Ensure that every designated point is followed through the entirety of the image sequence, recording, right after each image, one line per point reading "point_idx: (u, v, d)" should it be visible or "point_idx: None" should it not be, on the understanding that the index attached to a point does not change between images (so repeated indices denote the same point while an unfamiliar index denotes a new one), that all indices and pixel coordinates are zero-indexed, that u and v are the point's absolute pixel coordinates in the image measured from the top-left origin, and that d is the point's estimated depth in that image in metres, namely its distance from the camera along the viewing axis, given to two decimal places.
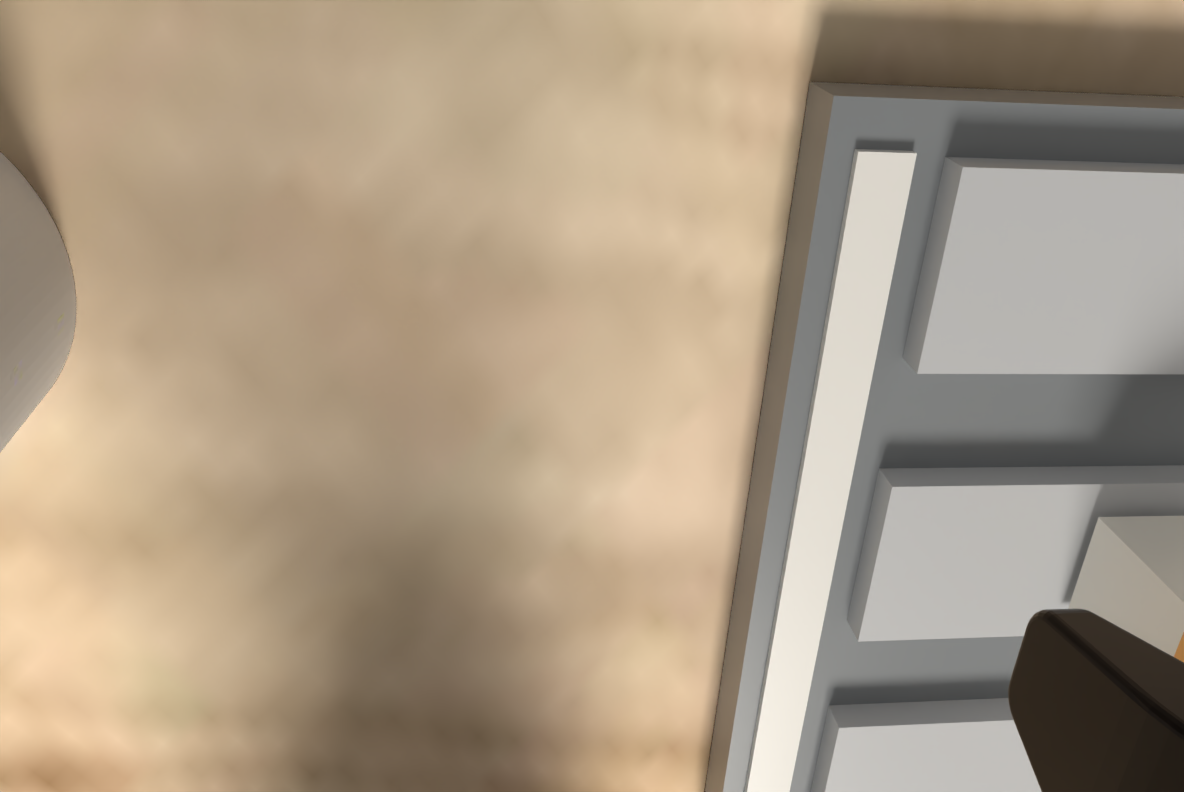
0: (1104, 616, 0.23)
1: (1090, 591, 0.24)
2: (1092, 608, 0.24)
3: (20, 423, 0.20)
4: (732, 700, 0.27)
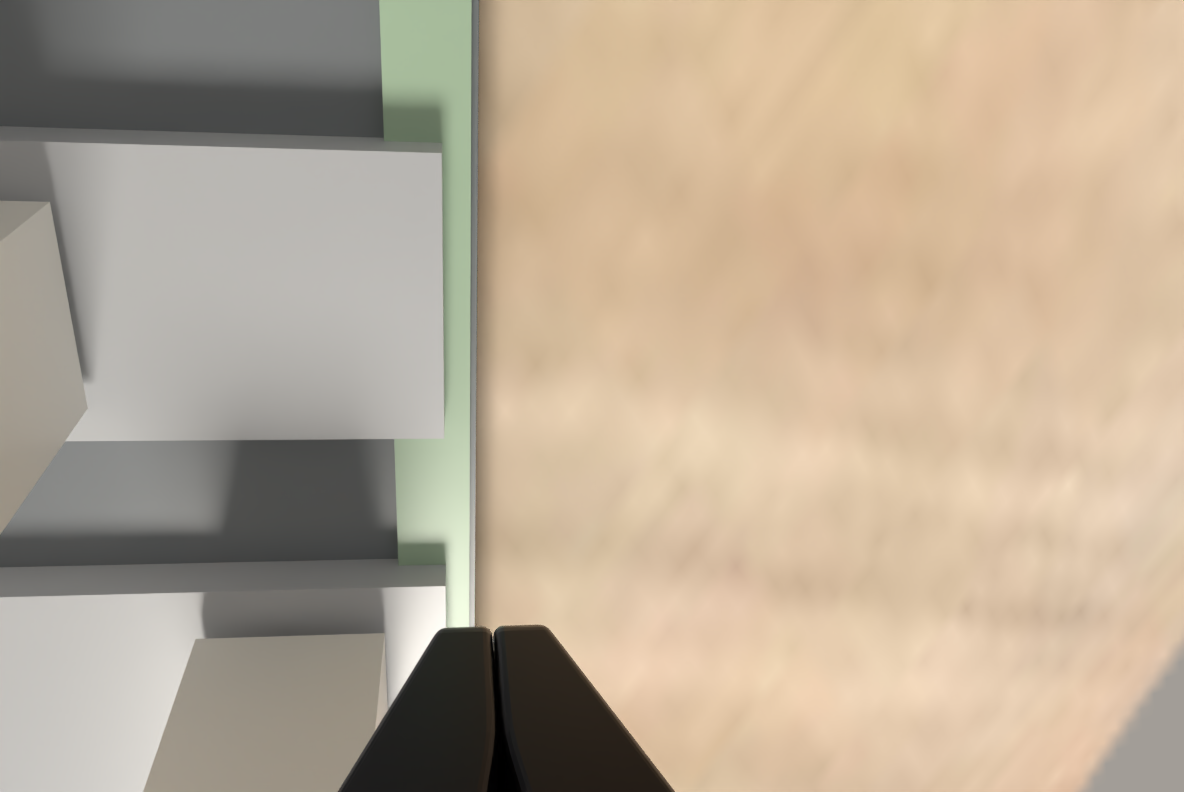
0: None
1: None
2: None
3: None
4: None
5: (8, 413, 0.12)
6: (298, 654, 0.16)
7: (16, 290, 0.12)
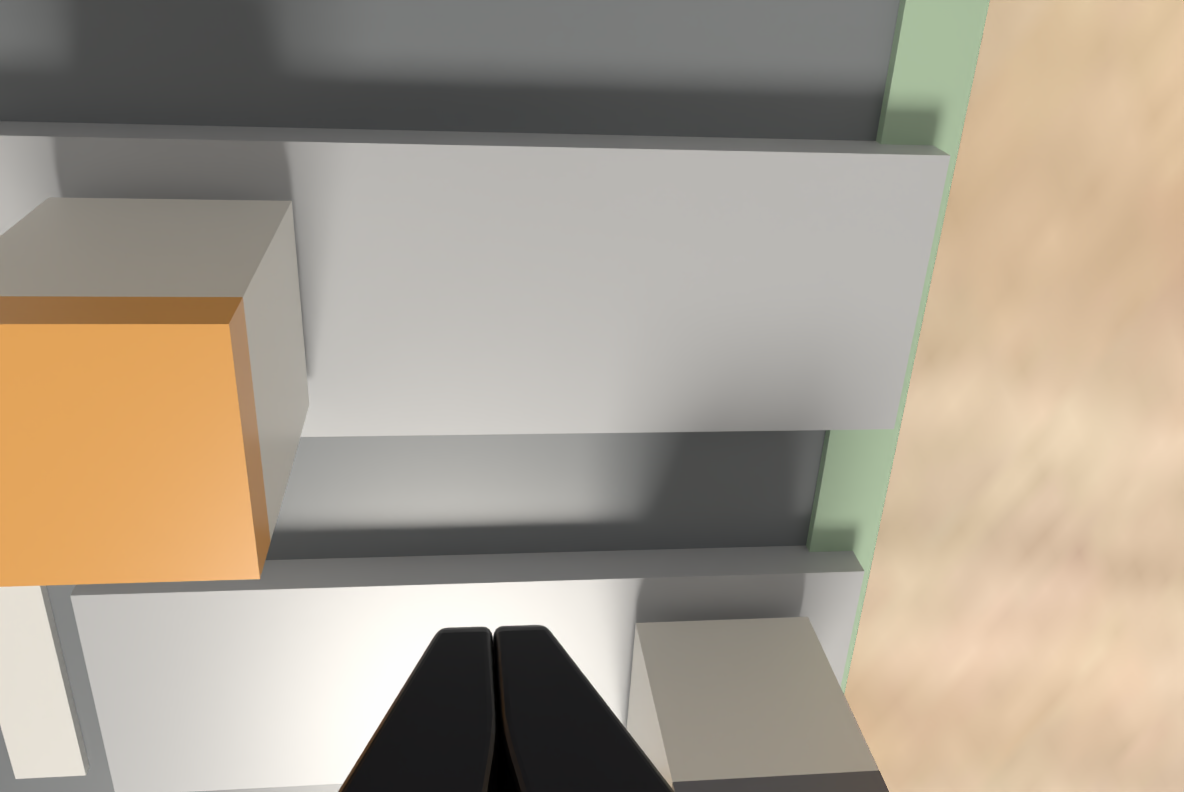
0: None
1: None
2: None
3: None
4: None
5: (276, 410, 0.12)
6: (739, 637, 0.17)
7: (278, 288, 0.12)
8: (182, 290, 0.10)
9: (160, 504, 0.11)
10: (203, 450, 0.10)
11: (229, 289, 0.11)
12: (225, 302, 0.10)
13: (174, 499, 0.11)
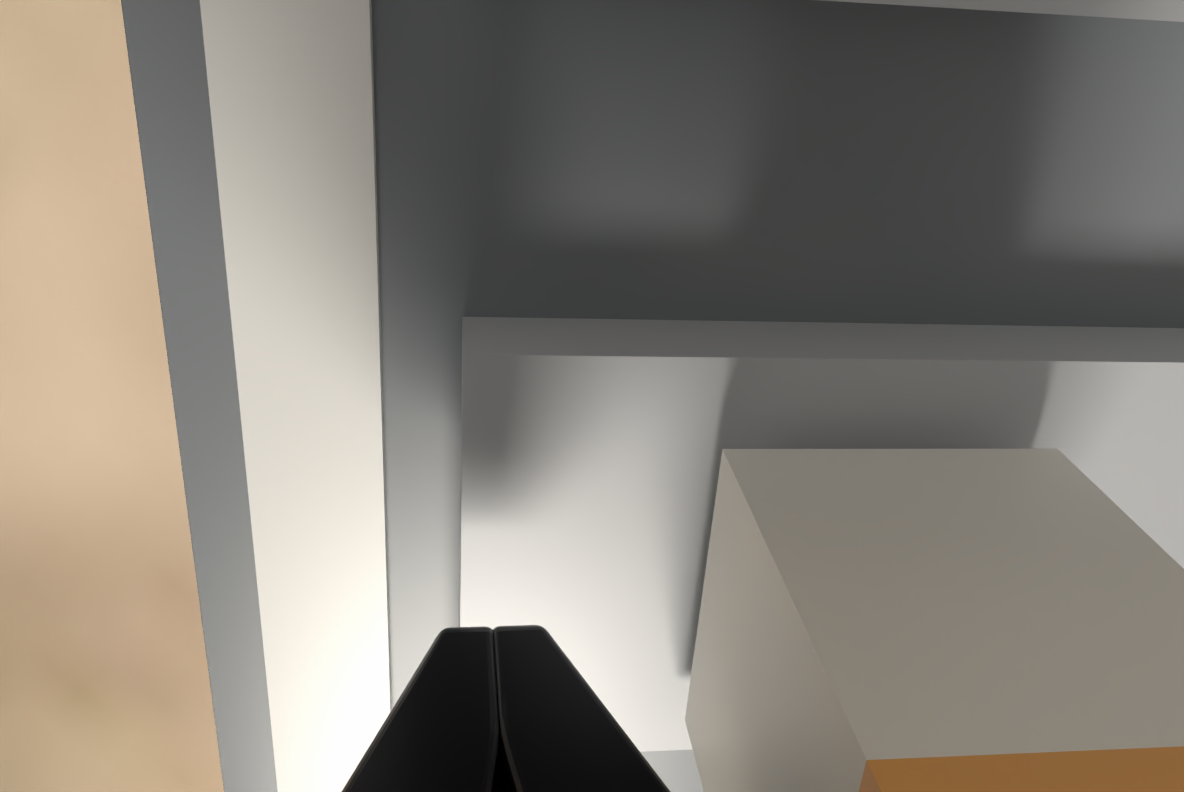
0: (727, 726, 0.08)
1: (712, 653, 0.09)
2: (713, 699, 0.09)
3: None
4: None
5: None
6: None
7: None
8: None
9: None
10: None
11: None
12: None
13: None
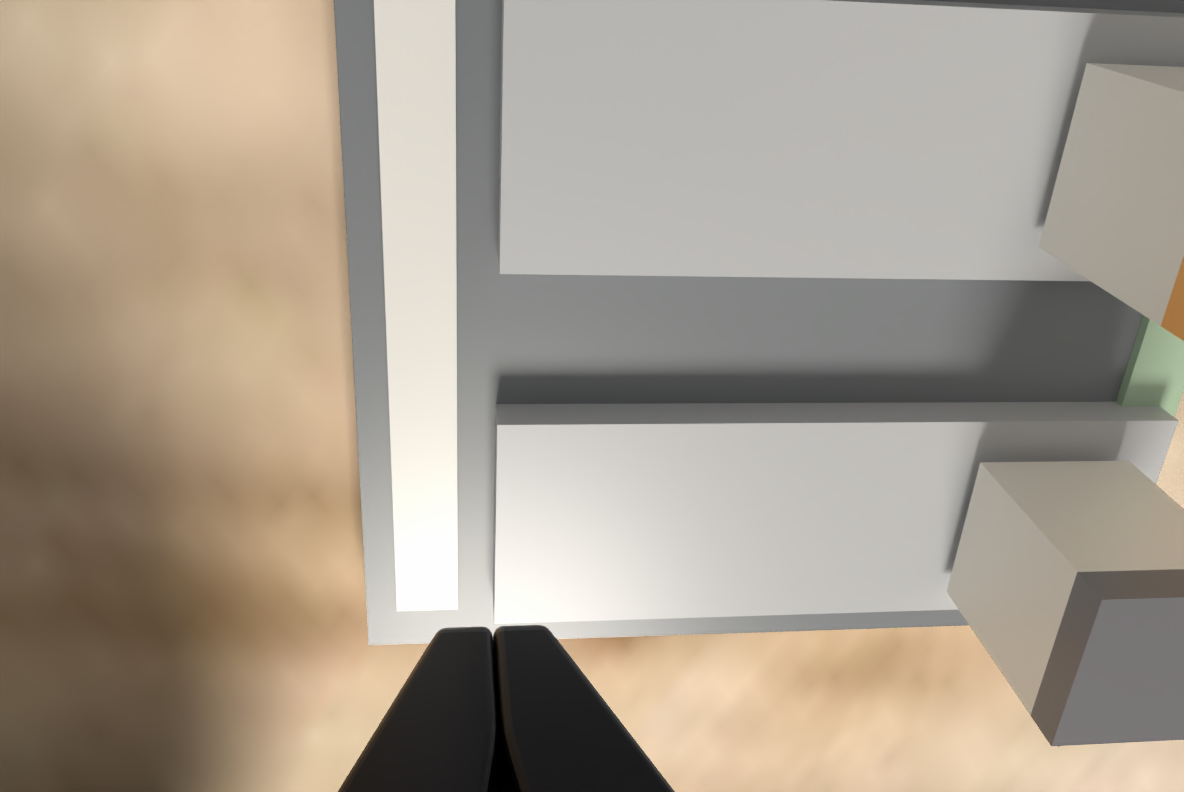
0: (1095, 204, 0.16)
1: (1074, 181, 0.16)
2: (1078, 203, 0.16)
3: None
4: None
5: None
6: (1076, 473, 0.19)
7: None
8: None
9: None
10: None
11: None
12: None
13: None
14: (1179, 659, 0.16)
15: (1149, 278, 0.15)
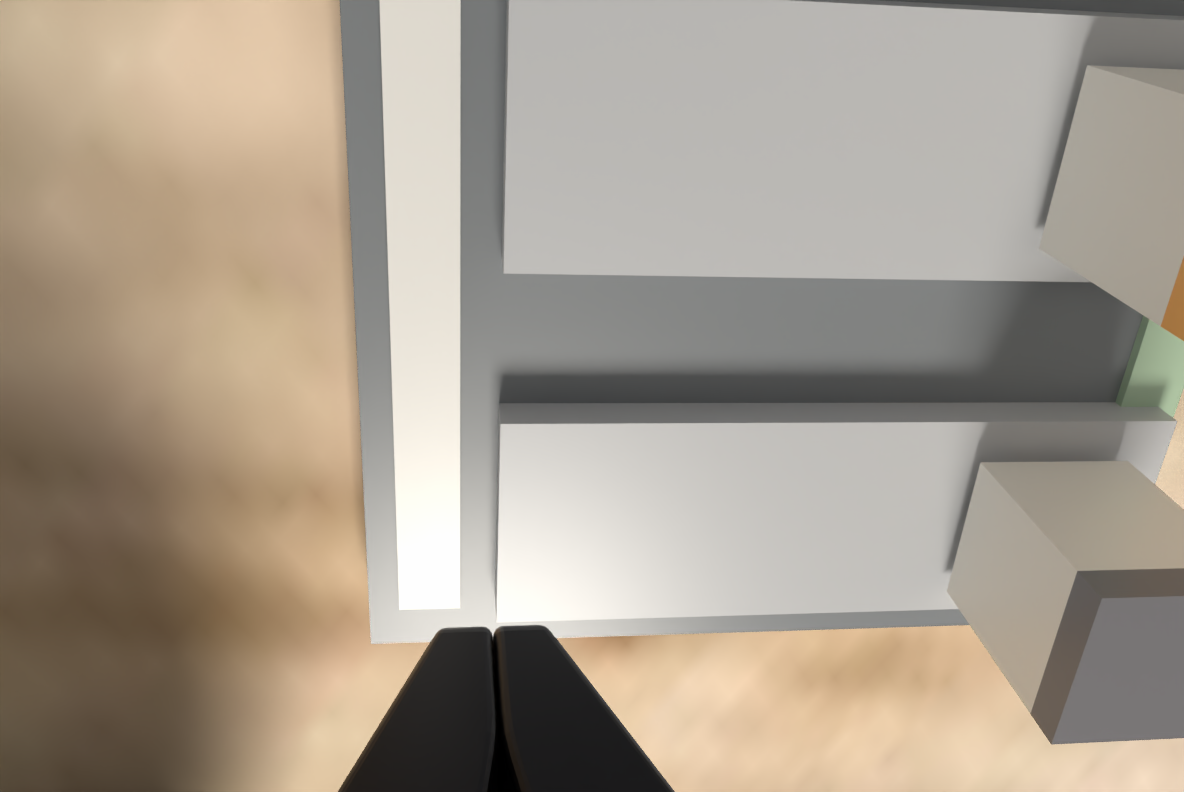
0: (1095, 205, 0.16)
1: (1075, 183, 0.16)
2: (1078, 204, 0.16)
3: None
4: None
5: None
6: (1076, 474, 0.19)
7: None
8: None
9: None
10: None
11: None
12: None
13: None
14: (1178, 657, 0.16)
15: (1149, 279, 0.15)
